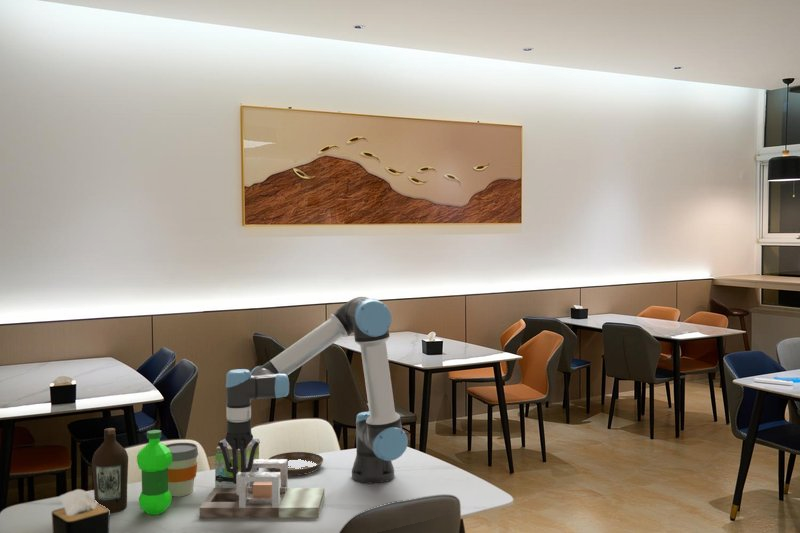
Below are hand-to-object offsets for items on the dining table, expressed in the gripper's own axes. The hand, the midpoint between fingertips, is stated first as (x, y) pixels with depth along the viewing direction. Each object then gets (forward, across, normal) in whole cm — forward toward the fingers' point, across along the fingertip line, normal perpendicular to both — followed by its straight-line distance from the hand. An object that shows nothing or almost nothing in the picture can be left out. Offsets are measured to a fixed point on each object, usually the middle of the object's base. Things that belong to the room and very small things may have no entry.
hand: (239, 493), depth 238 cm
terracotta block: (+1, -8, 0) cm, 8 cm away
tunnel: (+1, -8, 0) cm, 8 cm away
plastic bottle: (+4, +25, +4) cm, 26 cm away
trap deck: (+4, -8, 0) cm, 9 cm away
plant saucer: (+5, -12, -40) cm, 42 cm away
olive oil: (+4, +40, +1) cm, 41 cm away
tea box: (+5, +5, -21) cm, 22 cm away
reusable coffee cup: (+4, +23, -14) cm, 28 cm away
